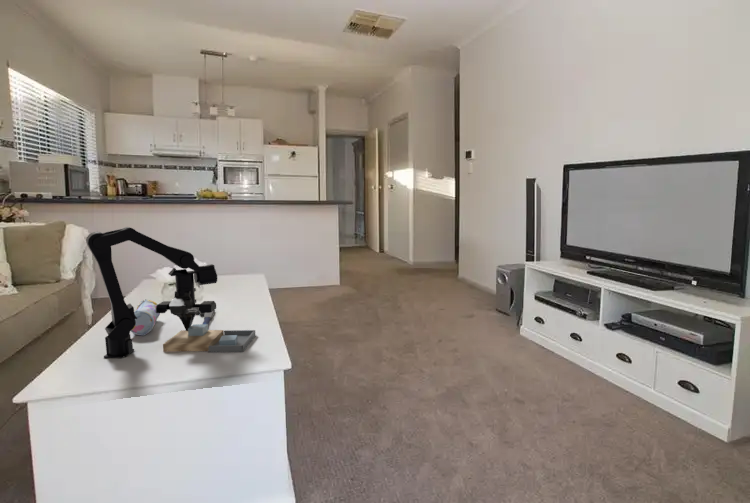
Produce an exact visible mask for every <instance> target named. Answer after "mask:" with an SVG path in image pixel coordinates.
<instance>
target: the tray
mask: <svg viewBox="0 0 750 503" xmlns="http://www.w3.org/2000/svg"><path fill="white" fill-rule="evenodd" d="M227 335H237V341H238V342H237V345H231V346H220V344H219V341H218V342H217V343H216V344H215V345H214V346H208V347H209V351H207V352H208V353H243V352H244V351H245V350H246V349H247V347H248V346H249V345H250V343H251V342H252V341H253V339H254V338H255V337H256V330H255V329H251V330H250V329H249V330H248V329H247V330H246V329H245V330H244V329H243V330H242V329H241V330H240V329H235V330H234V329H233V330H229V329H227V330H225V329H224V336H227Z"/></svg>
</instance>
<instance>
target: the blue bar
mask: <svg viewBox="0 0 750 503" xmlns="http://www.w3.org/2000/svg"><path fill="white" fill-rule="evenodd" d="M215 312H216V309H215V310H214V311H212V312H210V313H201V312H200V311H199V312H198V313H196V315H195V316H199V317H200V318H203V322H202V324H208V326H209V324H210V322H211V321H212V320H213V318H214V314H215ZM199 314H200V315H199Z"/></svg>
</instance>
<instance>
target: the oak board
mask: <svg viewBox="0 0 750 503" xmlns="http://www.w3.org/2000/svg"><path fill="white" fill-rule="evenodd" d="M224 331H225V329H212V330H211V329H208V332H207V333H206V334H204V335H203V336H188V331H186V329H185V330H183V329H182V330H181V329H180V330H179V331H178V332H177V333H176V334H175V335H173V336H172V337H170V338H169V339H168V340H166V341H165V342H164V343H162V349H163V352H165V353H167V352H208V351H209V347H208V346H214V345H215V344H216V343H217V342H218V341H219V340H220V338H221V337H222V336H224Z"/></svg>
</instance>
